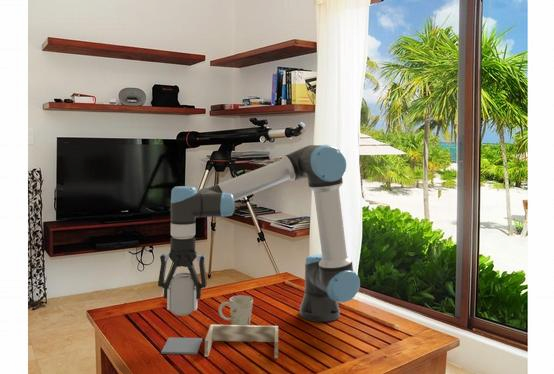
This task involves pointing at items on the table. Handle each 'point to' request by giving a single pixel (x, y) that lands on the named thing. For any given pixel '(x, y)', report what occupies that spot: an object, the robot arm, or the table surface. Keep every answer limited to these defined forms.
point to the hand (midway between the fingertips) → (182, 308)
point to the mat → (182, 346)
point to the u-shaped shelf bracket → (241, 335)
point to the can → (182, 294)
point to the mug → (238, 310)
